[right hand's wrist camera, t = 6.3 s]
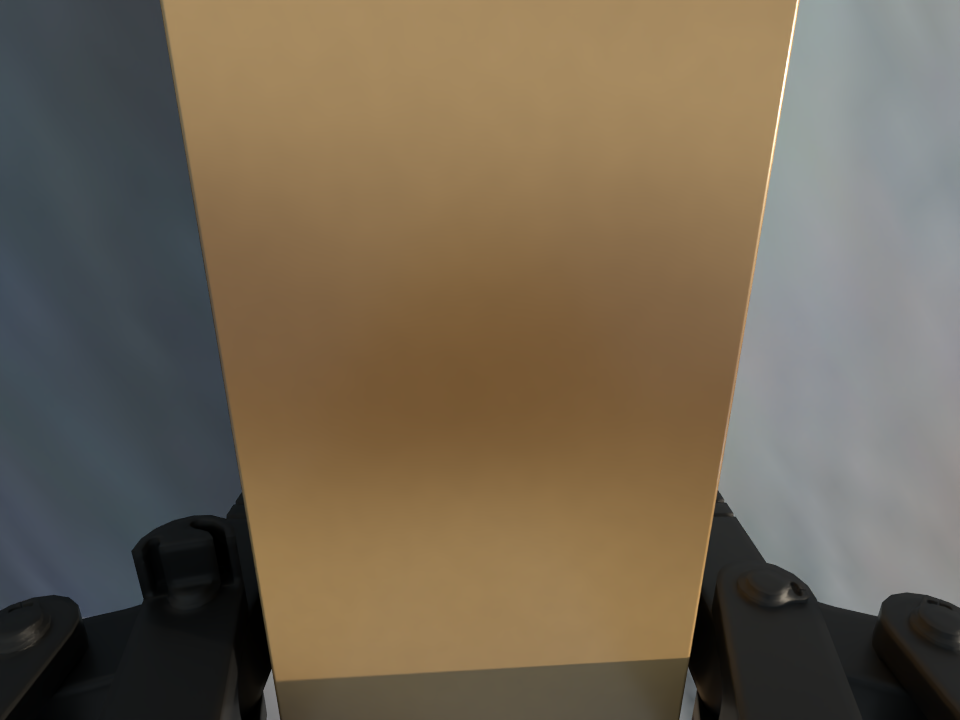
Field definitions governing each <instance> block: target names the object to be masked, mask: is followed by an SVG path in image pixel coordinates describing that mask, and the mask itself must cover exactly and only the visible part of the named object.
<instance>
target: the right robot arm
mask: <svg viewBox="0 0 960 720" xmlns="http://www.w3.org/2000/svg"><path fill="white" fill-rule="evenodd" d="M131 552H132V555H133V559H134V563H135V567H136V571H137V575H138V579H139V583H140V587H141V591H142V594H143V598H144V600H143V603H142V604H141V605H138V606H135V607H131V608H128V609H124V610H120V611H115V612H111V613H106V614H102V615H98V616H93V617H89V618H84V619H82V616H81V613H80V610H79V607H78V605H77V604H76V603H75V602H74V601H73V600H72V599H70V598H69V597H63V596H56V595H50V596H43V597H35V598H31V599H28V600H25V601H22V602H19V603H16V604H13V605H10V606H8V607H6V608H5V609H3V610H1V611H0V720H266V718H267V712H266V705H265V699H264V693H263V690H264V687H265V684H266V682H267V679H268V677H269V674H270V672H271V669H272V667H271V661H270V655H269V649H268V643H267V637H266V631H265V625H264V619H263V613H262V607H261V601H260V595H259V589H258V583H257V577H256V571H255V565H254V559H253V553H252V547H251V541H250V535H249V529H248V523H247V517H246V511H245V505H244V500H243V494H242V493H241V494H240V496H239V497H238V499H237V500H236V505H233V507H232V508H231V510H230V511H229V513H228V514H227V518H226V519H225V518H221V517H217V516H213V515H199V516H190V517H186V518H182V519H177V520H174V521H171V522H169V523H167V524H164V525H162V526H160V527H158V528H156V529H154V530H153V531H151V532H150V533H149V534H147V535H146V536H144V537H143V538H142V539H140V541H139V542H138V543H137V545H136V546H135V547H134V549H133V550H132V551H131ZM688 667H689V670H690V672H691V675H692V677H693V680H694V683H695V685H696V688H697V693H696V699H695V704H694V710H693V715H692V720H960V608H959V607H957V606H955V605H953V604H951V603H949V602H946V601H943V600H941V599H937V598H934V597H931V596H928V595H922V594H914V593H901V594H894V595H891V596H889V597H888V598H887V599H886V600H885V601H883V602H882V605H881V608H880V611H879V615H878V616H873V615H869V614H864V613H860V612H855V611H851V610H847V609H842V608H838V607H834V606H830V605H827V604H823V603H820V602H817V599H816V597H815V596H814V594H813V593H812V591H811V590H810V588H809V587H808V586H807V585H806V584H805V583H804V582H803V581H801V580H800V579H799V578H798V577H796V576H795V575H794V574H792V573H790V572H788V571H786V570H784V569H782V568H780V567H778V566H776V565H773V564H769V563H766V561H765V560H764V558H763V557H762V555H761V554H760V552H759V551H758V549H757V548H756V546H755V545H754V543H753V542H752V541H751V539H750V538H749V536H748V535H747V533H746V532H745V530H744V529H743V527H742V526H741V524H740V523H739V521H738V520H737V518H736V517H734V516H733V512H732V511H731V509H730V508H729V506H728V505H727V503H724V499H723V497H722V496H721V494H720V493H719V491H718V490H717V496H716V502H715V508H714V514H713V520H712V526H711V532H710V538H709V544H708V550H707V556H706V562H705V568H704V574H703V580H702V586H701V592H700V598H699V604H698V610H697V616H696V622H695V628H694V634H693V640H692V646H691V652H690V658H689V664H688Z"/></svg>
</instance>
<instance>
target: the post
mask: <svg viewBox="0 0 960 720" xmlns="http://www.w3.org/2000/svg"><path fill="white" fill-rule="evenodd" d="M799 1H800V0H160V4H161V10H162V16H163V22H164V28H165V34H166V40H167V46H168V52H169V58H170V64H171V70H172V76H173V82H174V88H175V94H176V100H177V106H178V112H179V118H180V124H181V130H182V136H183V142H184V147H185V153H186V159H187V165H188V171H189V177H190V183H191V189H192V195H193V201H194V207H195V213H196V219H197V225H198V231H199V237H200V243H201V249H202V255H203V261H204V267H205V273H206V279H207V285H208V291H209V297H210V303H211V309H212V315H213V321H214V326H215V332H216V338H217V344H218V350H219V356H220V362H221V368H222V374H223V380H224V386H225V392H226V398H227V404H228V410H229V416H230V422H231V428H232V434H233V440H234V446H235V452H236V458H237V464H238V470H239V476H240V482H241V488H242V494H243V500H244V505H245V511H246V517H247V523H248V529H249V535H250V541H251V547H252V553H253V559H254V565H255V571H256V577H257V583H258V589H259V595H260V601H261V607H262V613H263V619H264V625H265V631H266V637H267V643H268V649H269V655H270V661H271V667H272V673H273V679H274V684H275V690H276V696H277V702H278V708H279V714H280V720H679V717H680V711H681V705H682V699H683V694H684V688H685V682H686V676H687V670H688V664H689V658H690V652H691V646H692V640H693V634H694V628H695V622H696V616H697V610H698V604H699V598H700V592H701V586H702V580H703V574H704V568H705V562H706V556H707V550H708V544H709V538H710V532H711V526H712V520H713V514H714V508H715V502H716V496H717V490H718V485H719V479H720V473H721V467H722V461H723V455H724V449H725V443H726V437H727V431H728V425H729V419H730V413H731V407H732V401H733V395H734V389H735V383H736V377H737V371H738V365H739V359H740V353H741V347H742V341H743V335H744V329H745V323H746V317H747V311H748V305H749V299H750V293H751V287H752V281H753V276H754V270H755V264H756V258H757V252H758V246H759V240H760V234H761V228H762V222H763V216H764V210H765V204H766V198H767V192H768V186H769V180H770V174H771V168H772V162H773V156H774V150H775V144H776V138H777V132H778V126H779V120H780V114H781V108H782V102H783V96H784V90H785V84H786V78H787V73H788V67H789V61H790V55H791V49H792V43H793V37H794V31H795V25H796V19H797V13H798V7H799Z"/></svg>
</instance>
